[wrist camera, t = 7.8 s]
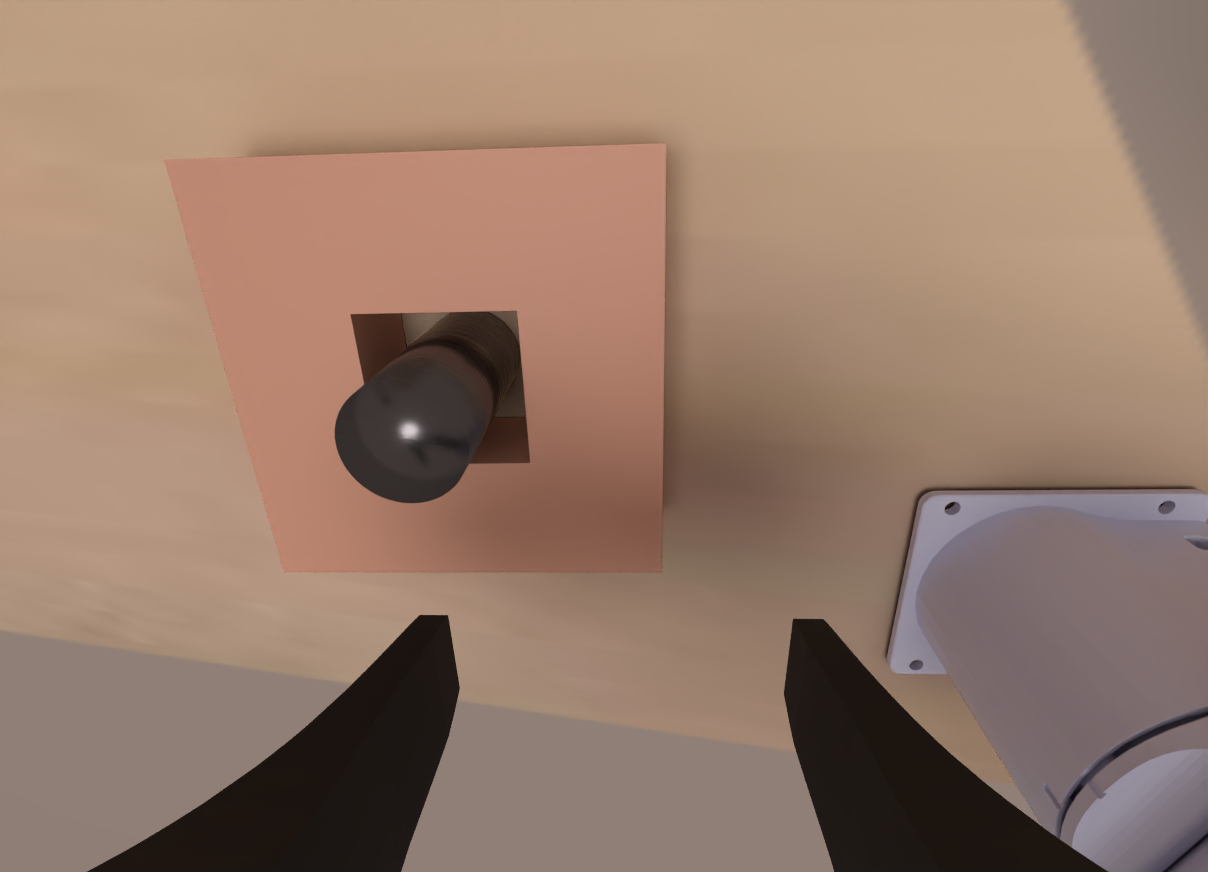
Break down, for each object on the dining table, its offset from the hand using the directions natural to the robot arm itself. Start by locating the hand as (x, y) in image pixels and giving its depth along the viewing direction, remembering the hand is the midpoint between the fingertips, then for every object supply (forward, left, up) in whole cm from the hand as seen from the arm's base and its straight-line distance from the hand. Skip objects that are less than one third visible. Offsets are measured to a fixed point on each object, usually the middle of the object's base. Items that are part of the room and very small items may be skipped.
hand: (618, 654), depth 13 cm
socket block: (+5, -4, -9) cm, 11 cm away
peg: (+5, -4, -9) cm, 11 cm away
